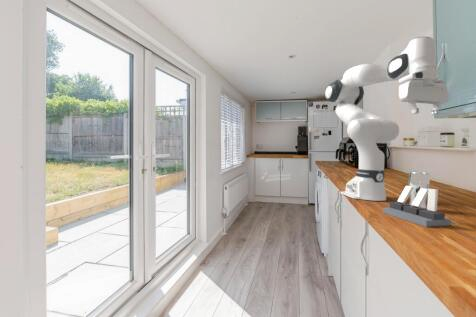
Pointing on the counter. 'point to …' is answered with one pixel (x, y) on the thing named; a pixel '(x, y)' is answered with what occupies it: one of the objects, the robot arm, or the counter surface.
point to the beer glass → (418, 185)
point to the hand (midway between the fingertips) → (425, 114)
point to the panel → (417, 215)
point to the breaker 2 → (420, 197)
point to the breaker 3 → (432, 199)
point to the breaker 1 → (405, 194)
